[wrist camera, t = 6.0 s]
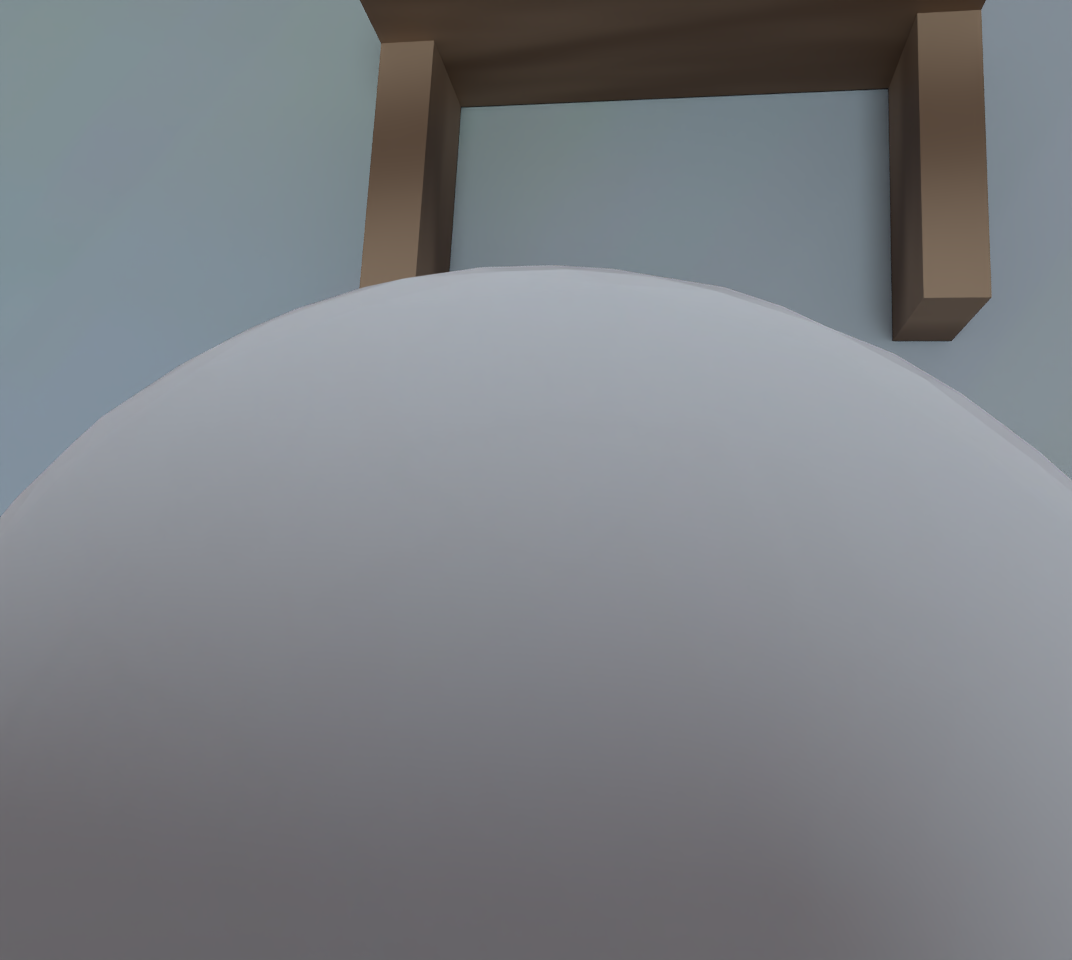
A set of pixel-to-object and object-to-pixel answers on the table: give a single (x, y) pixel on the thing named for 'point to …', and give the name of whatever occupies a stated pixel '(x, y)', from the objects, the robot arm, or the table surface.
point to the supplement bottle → (539, 645)
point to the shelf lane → (690, 71)
